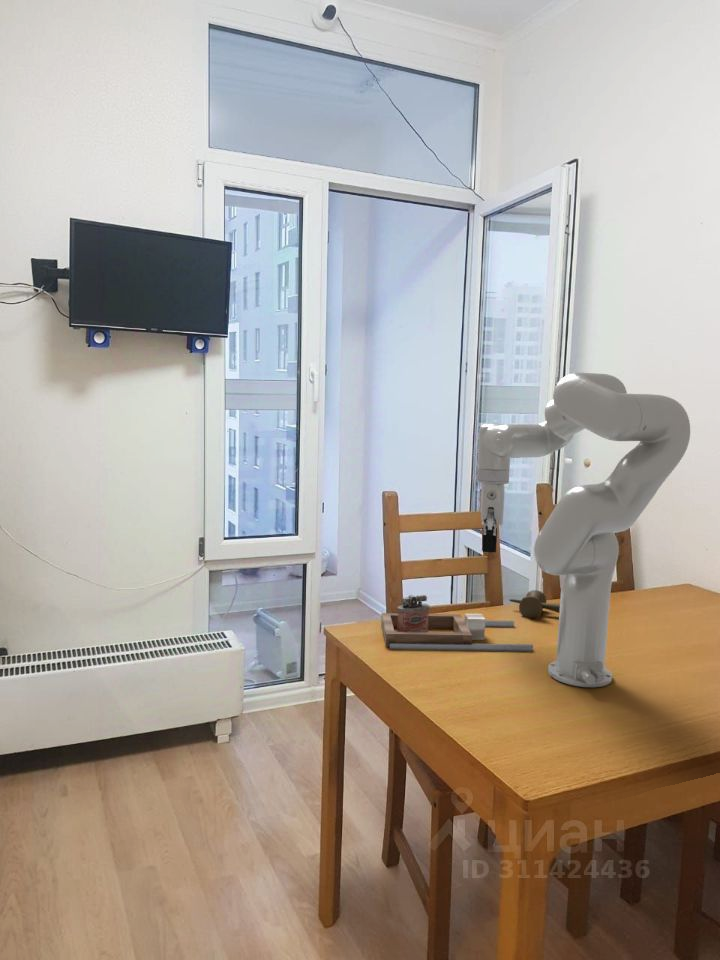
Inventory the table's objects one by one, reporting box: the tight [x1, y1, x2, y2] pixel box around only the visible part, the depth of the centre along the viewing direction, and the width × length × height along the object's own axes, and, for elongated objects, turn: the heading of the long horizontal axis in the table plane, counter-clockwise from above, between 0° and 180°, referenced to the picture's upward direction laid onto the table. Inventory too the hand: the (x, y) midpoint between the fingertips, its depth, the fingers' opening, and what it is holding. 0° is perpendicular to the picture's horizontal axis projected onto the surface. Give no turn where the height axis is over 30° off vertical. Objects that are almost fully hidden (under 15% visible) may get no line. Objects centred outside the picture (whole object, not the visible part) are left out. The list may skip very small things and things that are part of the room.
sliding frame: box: [380, 612, 486, 648], centre depth 168 cm, size 15×23×5 cm, turn 92°
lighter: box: [396, 594, 430, 632], centre depth 167 cm, size 8×3×10 cm, turn 114°
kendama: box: [509, 589, 560, 620], centre depth 187 cm, size 6×10×20 cm
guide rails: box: [388, 619, 534, 652], centre depth 168 cm, size 18×32×2 cm, turn 92°
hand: (489, 547), depth 171 cm, fingers open, 9 cm apart
